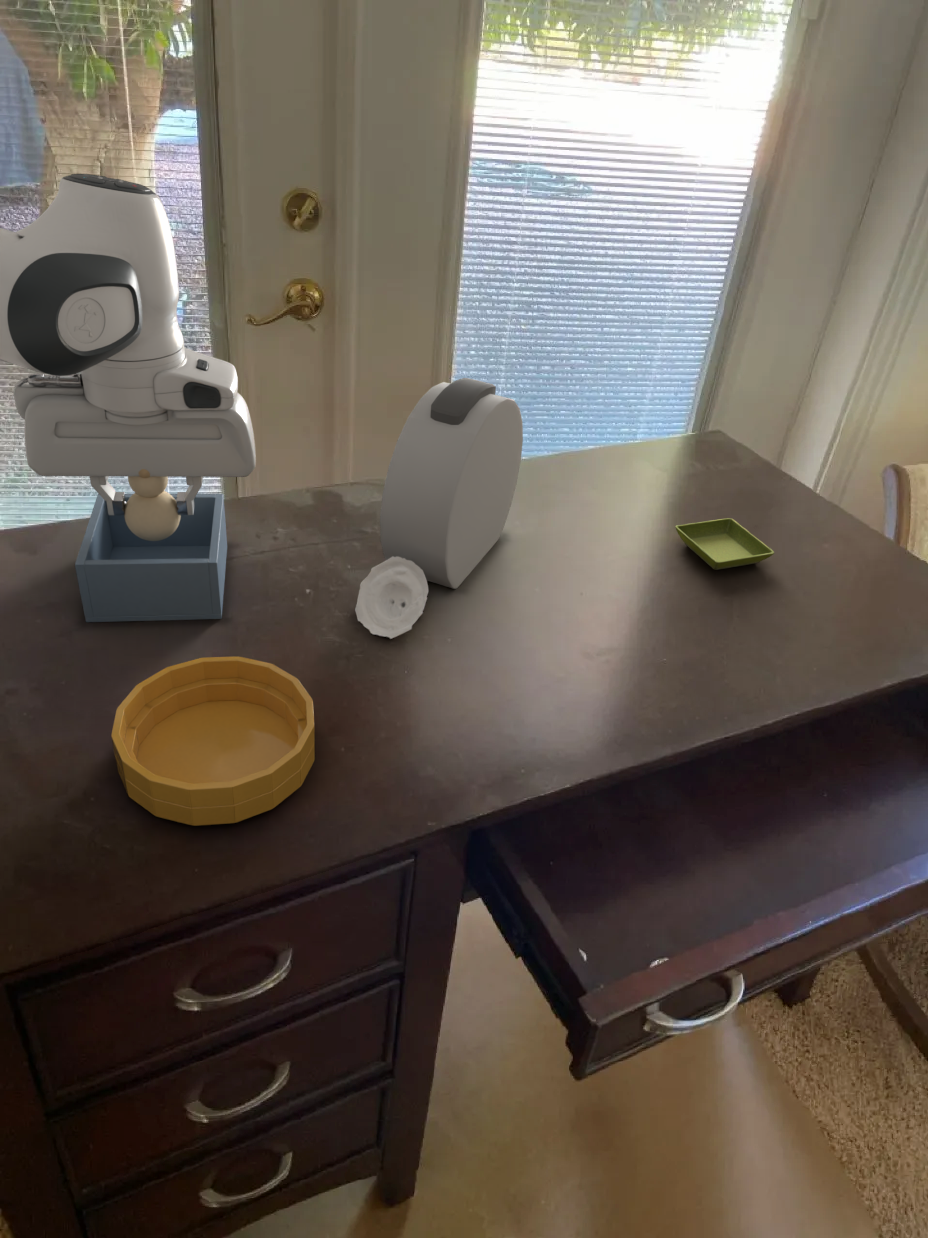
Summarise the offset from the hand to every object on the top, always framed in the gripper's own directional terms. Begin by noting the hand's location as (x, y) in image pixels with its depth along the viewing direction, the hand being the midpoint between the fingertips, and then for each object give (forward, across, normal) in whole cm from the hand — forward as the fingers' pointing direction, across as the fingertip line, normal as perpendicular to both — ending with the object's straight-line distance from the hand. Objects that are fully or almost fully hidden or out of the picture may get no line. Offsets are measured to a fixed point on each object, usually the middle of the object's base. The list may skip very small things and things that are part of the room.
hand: (152, 512), depth 87 cm
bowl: (+8, +7, -26) cm, 28 cm away
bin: (+8, 0, 0) cm, 8 cm away
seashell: (+8, +23, -8) cm, 26 cm away
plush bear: (+3, 0, 0) cm, 3 cm away
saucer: (+8, +64, +4) cm, 65 cm away
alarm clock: (+8, +31, +5) cm, 33 cm away
